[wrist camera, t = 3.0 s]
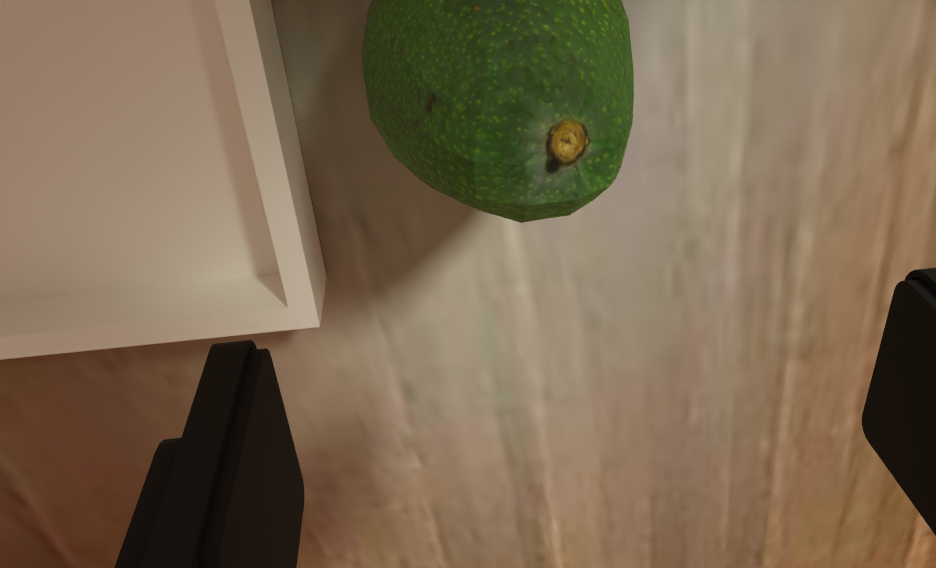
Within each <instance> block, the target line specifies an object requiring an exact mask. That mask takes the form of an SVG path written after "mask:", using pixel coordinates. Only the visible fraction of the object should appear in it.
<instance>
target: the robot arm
mask: <svg viewBox="0 0 936 568" xmlns="http://www.w3.org/2000/svg"><path fill="white" fill-rule="evenodd" d="M862 427H863V431H864V434H865V437H866V438H867V440H868V442H869V443H870V445H871V446H872V447H873V449H874V450H875V452H876V453H877V454H878V456H879V457H880V459H881V460H882V461H883V463H884V464H885V465H886V467H887V468H888V470H889V471H890V472H891V474H892V475H893V477H894V478H895V479H896V481H897V482H898V484H899V485H900V486H901V488H902V489H903V491H904V492H905V493H906V495H907V496H908V498H909V499H910V500H911V502H912V503H913V505H914V506H915V507H916V509H917V510H918V511H919V513H920V514H921V516H922V517H923V518H924V520H925V521H926V523H927V524H928V525H929V527H930V528H931V530H932V531H933V532H934V534H935V535H936V268H929V269H919V270H914V271H911V272H910V273H909V274H908V275H907V276H906V278H905V281H901V282H899V283H898V284H897V285H896V287H895V290H894V293H893V297H892V301H891V305H890V309H889V313H888V317H887V321H886V325H885V328H884V332H883V336H882V340H881V344H880V348H879V352H878V356H877V360H876V364H875V367H874V371H873V375H872V379H871V383H870V387H869V391H868V395H867V399H866V402H865V406H864V410H863V414H862ZM303 508H304V484H303V478H302V474H301V470H300V466H299V462H298V458H297V454H296V451H295V447H294V443H293V439H292V435H291V431H290V427H289V424H288V420H287V416H286V412H285V408H284V404H283V401H282V397H281V393H280V389H279V385H278V381H277V377H276V374H275V370H274V366H273V362H272V358H271V355H270V352H269V350H268V349H257V348H256V345H255V343H254V342H253V341H252V340H248V341H238V342H229V343H219V344H214V345H212V346H211V348H210V350H209V354H208V357H207V360H206V363H205V366H204V369H203V372H202V375H201V379H200V382H199V385H198V388H197V391H196V394H195V397H194V400H193V404H192V407H191V410H190V413H189V416H188V419H187V422H186V425H185V429H184V432H183V435H182V438H175V439H166V440H163V441H162V442H161V443H160V444H159V446H158V448H157V450H156V452H155V454H154V457H153V460H152V463H151V466H150V469H149V472H148V474H147V477H146V480H145V483H144V486H143V489H142V491H141V494H140V497H139V500H138V503H137V506H136V508H135V511H134V514H133V517H132V520H131V523H130V525H129V528H128V531H127V534H126V537H125V540H124V543H123V545H122V548H121V551H120V554H119V557H118V560H117V562H116V565H115V568H296V565H297V557H298V549H299V541H300V532H301V524H302V516H303Z"/></svg>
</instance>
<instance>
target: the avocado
mask: <svg viewBox="0 0 936 568" xmlns="http://www.w3.org/2000/svg"><path fill="white" fill-rule="evenodd" d="M362 63H363V72H364V79H365V85H366V92H367V99H368V104H369V109H370V115H371V120H372V121H373V123H374V124H375V126H376V128H377V129H378V131H379V133H380V134H381V136H382V137H383V139H384V141H385V142H386V144H387V146H388V147H389V149H390V150H391V152H392V154H393V155H394V157H395V158H397V159H398V160H399V161H400V162H401V163H402V164H403V165H404V166H406V167H407V168H408V169H409V170H410V171H411V172H412V173H414V174H415V175H416V176H417V177H418V178H419V179H420V180H422V181H423V182H425V183H426V184H427V185H429V186H430V187H432V188H434V189H436V190H438V191H440V192H442V193H444V194H446V195H448V196H450V197H452V198H454V199H456V200H458V201H460V202H462V203H464V204H466V205H469V206H471V207H473V208H476V209H478V210H481V211H484V212H487V213H491V214H494V215H497V216H501V217H504V218H508V219H511V220H514V221H518V222H521V223H523V222H528V221H534V220H539V219H545V218H552V217H560V216H567V215H570V214H572V213H573V212H575V211H577V210H578V209H580V208H581V207H583V206H585V205H586V204H588V203H589V202H591V201H593V200H594V199H595V198H596V197H598V196H599V195H600V194H601V193H602V192H603V191H604V190H606V189H607V188H608V187H609V186H610V185H611V184H612V183H613V181H614V180H615V178H616V176H617V174H618V172H619V170H620V167H621V164H622V160H623V157H624V153H625V149H626V145H627V141H628V137H629V134H630V130H631V126H632V118H633V97H634V90H633V62H632V52H631V41H630V31H629V21H628V18H627V15H626V13H625V10H624V7H623V4H622V1H621V0H373V2H372V3H371V5H370V7H369V10H368V16H367V22H366V29H365V35H364V41H363V48H362Z"/></svg>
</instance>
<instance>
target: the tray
mask: <svg viewBox="0 0 936 568" xmlns="http://www.w3.org/2000/svg"><path fill="white" fill-rule="evenodd" d="M326 278H327V276H326V271H325V266H324V261H323V256H322V251H321V246H320V241H319V236H318V231H317V227H316V222H315V217H314V212H313V207H312V202H311V197H310V192H309V187H308V182H307V177H306V172H305V167H304V162H303V157H302V152H301V147H300V142H299V138H298V133H297V128H296V123H295V118H294V113H293V108H292V103H291V98H290V93H289V88H288V83H287V78H286V73H285V68H284V63H283V58H282V53H281V49H280V44H279V39H278V34H277V29H276V24H275V19H274V14H273V9H272V4H271V0H0V360H2V359H11V358H21V357H31V356H41V355H50V354H60V353H70V352H80V351H90V350H99V349H109V348H119V347H129V346H138V345H148V344H158V343H168V342H177V341H187V340H197V339H207V338H216V337H226V336H236V335H246V334H255V333H265V332H275V331H285V330H294V329H304V328H314V327H320V323H321V316H322V308H323V301H324V293H325V286H326Z"/></svg>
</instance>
